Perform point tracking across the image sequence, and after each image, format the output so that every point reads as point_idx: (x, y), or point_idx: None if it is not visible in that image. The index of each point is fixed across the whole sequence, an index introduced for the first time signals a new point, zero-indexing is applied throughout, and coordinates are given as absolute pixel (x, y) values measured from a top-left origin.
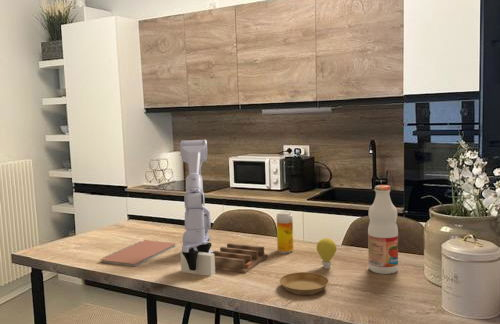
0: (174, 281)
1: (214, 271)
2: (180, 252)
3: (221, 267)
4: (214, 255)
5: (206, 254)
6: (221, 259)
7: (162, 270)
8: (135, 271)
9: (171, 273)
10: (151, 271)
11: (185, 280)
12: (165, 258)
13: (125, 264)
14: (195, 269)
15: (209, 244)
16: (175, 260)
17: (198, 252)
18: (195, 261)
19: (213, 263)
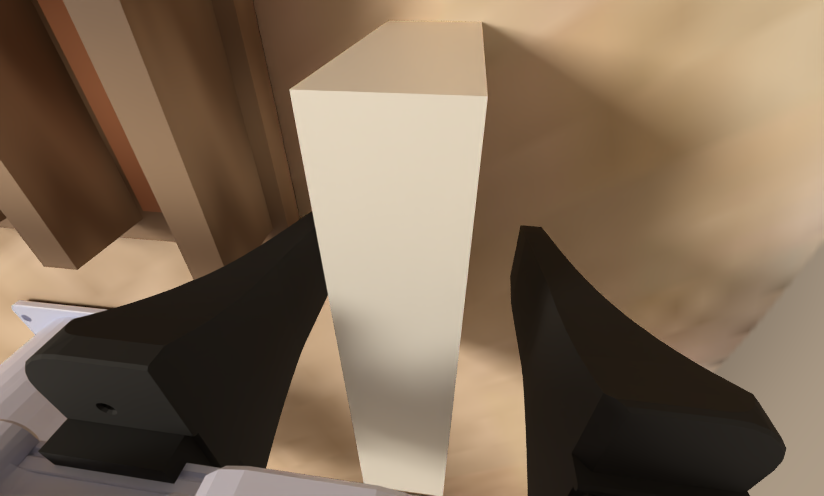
0: (686, 292)
1: (400, 24)
2: (442, 491)
3: (238, 9)
4: (99, 229)
5: (424, 229)
6: (151, 35)
7: (469, 413)
8: (519, 487)
9: (506, 363)
10: (501, 445)
11: (659, 225)
12: (298, 447)
13: None
14: (529, 229)
15: (114, 365)
16: (294, 410)
17: (375, 370)
18: (576, 287)
19: (394, 47)
